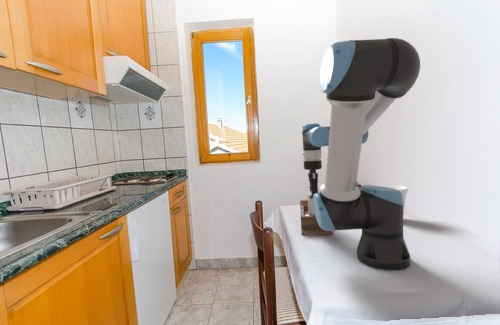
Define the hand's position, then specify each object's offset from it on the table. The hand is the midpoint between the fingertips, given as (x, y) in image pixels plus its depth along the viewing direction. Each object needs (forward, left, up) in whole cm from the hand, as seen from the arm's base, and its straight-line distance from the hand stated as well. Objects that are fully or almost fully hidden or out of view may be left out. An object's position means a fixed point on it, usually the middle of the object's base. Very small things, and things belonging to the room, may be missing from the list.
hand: (314, 209), depth 111 cm
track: (+11, 0, -9) cm, 14 cm away
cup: (+14, -36, -9) cm, 40 cm away
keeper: (0, 0, -7) cm, 7 cm away
